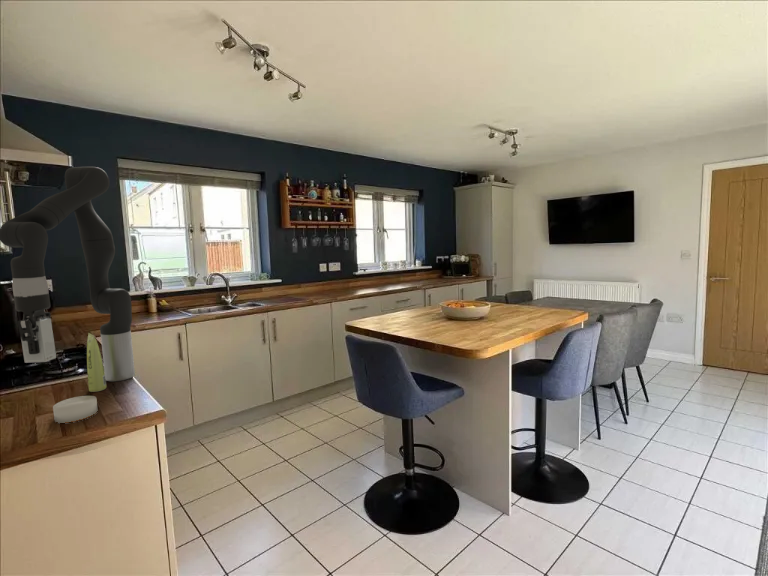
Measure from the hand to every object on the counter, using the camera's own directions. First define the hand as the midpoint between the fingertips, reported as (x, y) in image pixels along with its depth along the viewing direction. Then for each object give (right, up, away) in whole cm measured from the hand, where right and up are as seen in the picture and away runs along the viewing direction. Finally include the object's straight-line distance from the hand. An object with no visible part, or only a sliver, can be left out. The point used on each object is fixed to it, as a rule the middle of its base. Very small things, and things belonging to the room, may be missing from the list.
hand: (39, 350), depth 115 cm
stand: (+10, -19, +1) cm, 22 cm away
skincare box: (0, -3, 0) cm, 3 cm away
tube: (+2, -17, +21) cm, 27 cm away
